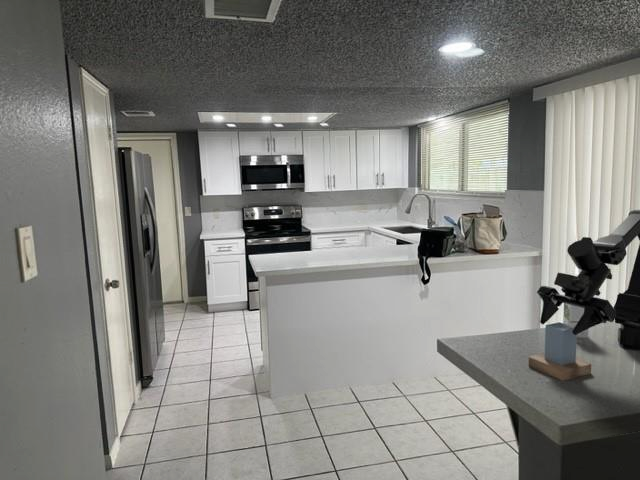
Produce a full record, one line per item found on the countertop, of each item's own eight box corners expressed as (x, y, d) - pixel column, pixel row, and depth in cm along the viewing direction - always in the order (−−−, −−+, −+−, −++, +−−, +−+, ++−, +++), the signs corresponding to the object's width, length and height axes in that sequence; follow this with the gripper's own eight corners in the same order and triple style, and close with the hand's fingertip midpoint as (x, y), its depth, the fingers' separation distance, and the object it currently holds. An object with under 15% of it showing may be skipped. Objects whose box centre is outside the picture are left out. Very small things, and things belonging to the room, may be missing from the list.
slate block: (558, 355, 115) (559, 322, 114) (575, 362, 111) (577, 327, 110) (544, 358, 113) (545, 325, 112) (561, 365, 109) (563, 330, 108)
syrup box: (589, 338, 134) (591, 292, 133) (568, 337, 136) (570, 291, 134) (581, 332, 140) (584, 287, 138) (561, 331, 141) (563, 287, 139)
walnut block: (555, 361, 119) (556, 350, 119) (590, 375, 110) (591, 363, 109) (528, 367, 115) (528, 356, 115) (562, 382, 106) (562, 371, 106)
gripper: (543, 256, 119) (511, 300, 116) (611, 267, 102) (576, 319, 99) (562, 281, 123) (532, 325, 120) (631, 296, 106) (598, 347, 103)
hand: (556, 328), depth 110 cm, fingers open, 9 cm apart
